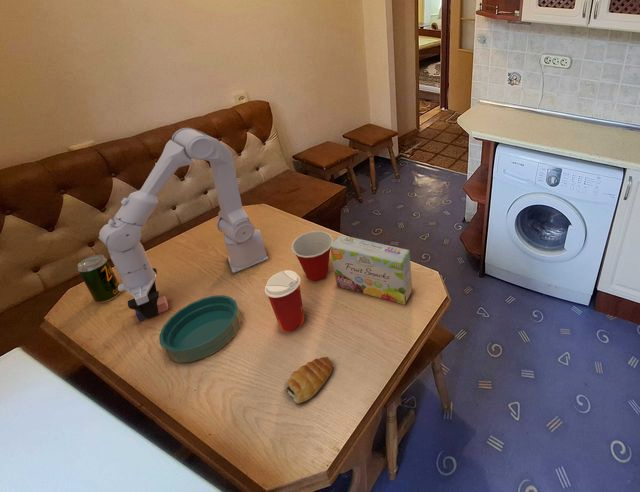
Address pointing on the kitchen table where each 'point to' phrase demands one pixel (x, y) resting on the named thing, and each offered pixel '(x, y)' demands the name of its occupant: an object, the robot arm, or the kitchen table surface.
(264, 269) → the kitchen table surface
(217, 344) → the bowl
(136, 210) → the robot arm
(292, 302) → the paper cup
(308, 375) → the pastry
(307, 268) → the plastic cup
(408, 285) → the snack box
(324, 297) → the kitchen table surface
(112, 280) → the beer can
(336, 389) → the kitchen table surface
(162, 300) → the eraser
